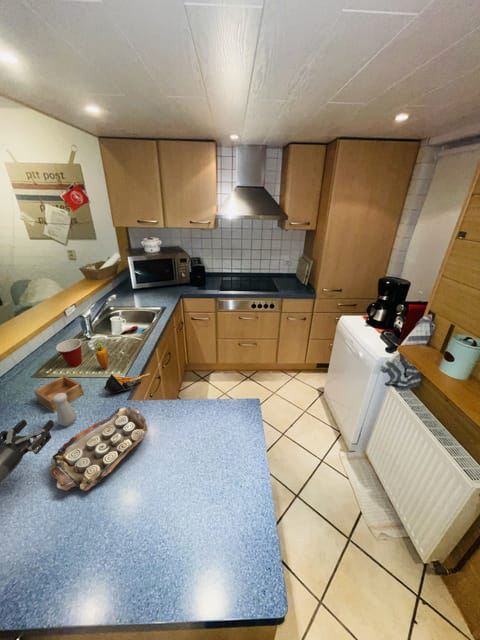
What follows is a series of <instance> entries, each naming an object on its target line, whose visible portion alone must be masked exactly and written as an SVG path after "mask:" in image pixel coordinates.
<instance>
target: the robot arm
mask: <svg viewBox="0 0 480 640" xmlns="http://www.w3.org/2000/svg"><path fill="white" fill-rule="evenodd" d="M27 425H28V423H27V421H26V419H21V420H20V421H19V422H18V423H17V424H15V425H14V426H13V428H10V429H8V430H2V431H0V487H1V486H2V485H3V484H4V482H5V481H6V480H7V479H8V477H10V476H11V474H12V473H13V471H14V470H15V469H16V468H17V467H18V466H19V465H20V463H21V462H22V460H23V457H24V456H25V455H26V454H27V453H29V452H32V453H33V454H34V455H38V454H39V453H40V452H41V451H42V449H43V448H44V447H45V446H46V445H47V444H48V443H49V441H50V440H51V439H52V434H51V432H50V431H51V430H52V429H53V428H54V426H55V424H54V421H53V420H52V419H49V420H47V421H46V423H45V424H44V426H42V428H41V429H40V430H38V431H36V432H32V433H29V434H27V435H20V434H19V433H21V432H22V431H23V429H25V428H26V426H27ZM31 439H33V441H32V440H31Z"/></svg>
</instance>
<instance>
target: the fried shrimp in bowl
mask: <svg viewBox="0 0 480 640" xmlns="http://www.w3.org/2000/svg"><path fill="white" fill-rule="evenodd" d="M149 376H151V372H146V373H145V374H142V375H140V376H137V377H134V375H132V376H121V377H120V375H113V374H112V373H111V374H110V376H109V377H108V378H107V380H106V382H105V385H104V390H105V391H106V392H107V393H108V394H109V395H112V394H118V393H120V392H122V391H127V390H130V389H133V386H134V385H136V382H137V381H138V380H141V379H144V378H147V377H149Z"/></svg>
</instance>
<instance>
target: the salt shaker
mask: <svg viewBox="0 0 480 640" xmlns="http://www.w3.org/2000/svg"><path fill="white" fill-rule="evenodd" d="M52 401H53V403H54V404H56V407H57V411H56V415H57V422H58V424H59V425H60V426H62V427H70V426H72V425H74V424H75V421H76V418H77V413H76V412H75V410H74V409H73V407H72V406H71V404H70V403H68V402H67V395H66V394H65V393H58V394H56V395H55V396H54V397H53V398H52Z"/></svg>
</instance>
